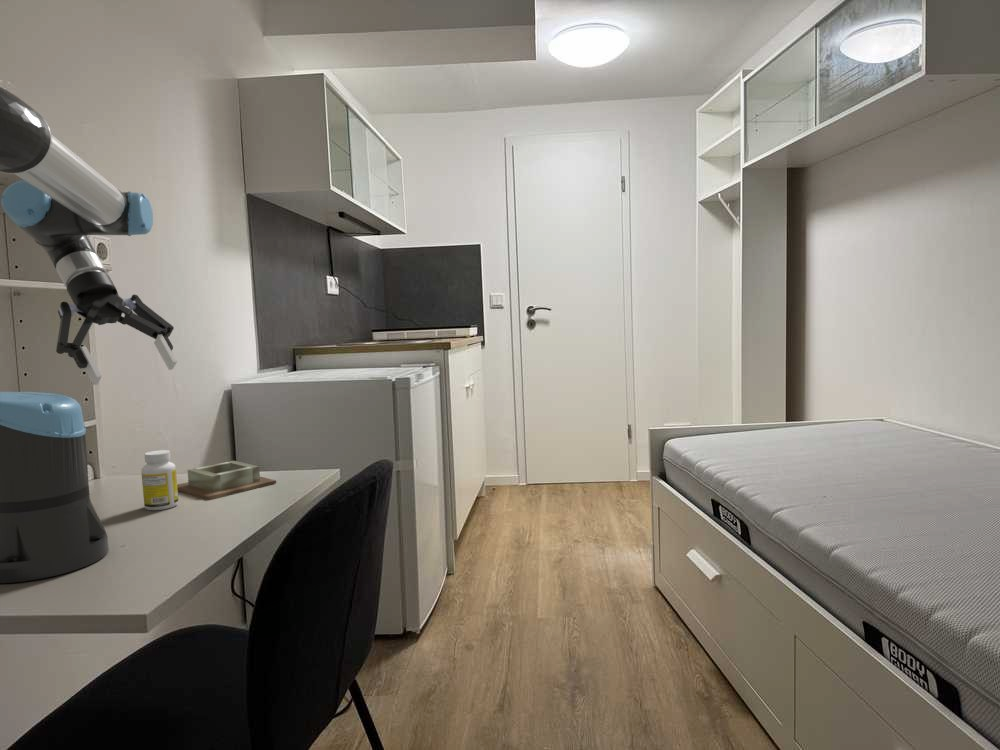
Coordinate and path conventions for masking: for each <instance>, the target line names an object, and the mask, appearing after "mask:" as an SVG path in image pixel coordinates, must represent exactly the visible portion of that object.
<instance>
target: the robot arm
mask: <svg viewBox="0 0 1000 750" xmlns="http://www.w3.org/2000/svg"><path fill="white" fill-rule="evenodd" d="M0 173H3V174H8V175H15V176H17V177H19V178H20V179H22V180H19V181H15V182H13V183H11V184H10V185H8V186H7V187H6V188H5V189H4V191H3V192H2V195H1V199H0V204H1V208H2V210H3V212H5V214H7V216H8V217H9V218H10V219H11V220H12V222H13V223H14V224H15V225H16V226H17V227H19V228H20V229H21V230H23V231H24V233H26V234H27V235H28V236H29V237H30V238H31V239H32V240H34V241H35V243H36V244H37V245H38V246H39V247H41V248H42V249H43V250H44V252H45V253H46V254H47V256H48V257H49V259H50V261H51V262H52V265H53V267H54V268H55V271H56V273H57V274H58V276H59V278H60V280H61V282H62V284H63V286H64V287H65V288H66V291H67V293H68V295H69V297H70V299H71V300H72V303H73V304H69V303H68V301H62V302H61V303H60V305H59V309H58V310H57V313H58V316H59V320H60V323H59V330H58V336H57V343H56V350H55V352H56V353H57V354H59V355H62V354H67V356H68V357H70V358H72V359H73V360H74V362H75V364H76V366H77V367H78V369H84V370H85V372H86V374H87V376H88V378H89V380H90V382H91V384H92V385H93V386H95V385H96V386H97V385H98V384H99V383H100V381H101V379H102V374H101V371H100V369H98V366H97V364H96V363H95V361H94V358H93V357H92V355H91V353H90V351H89V348H87V346H86V345H85V346H82V344H83V343H84V340H85V339H86V337H87V334H88V333H89V331H90V329H91V327H92V325H93V324H97V325H98V326H102V325H105V324H117V323H120V324H122V325H124V326H125V325H127V326H129V327H131V328H133V329H135V330H137V331H139V332H141V333H143V334H144V335H145V336H146V335H147V336H149V337H150V338H152V339H154V342H153V344H154V346H155V348H156V349H157V351H158V353H159V354H160V357H161V358H162V360H163V361H164V363H165V365H166V368H167V369H168V371H172V370H173V369H174V368H175V366H176V365H177V363H178V360H177V359H176V357H175V354H174V353H173V349H174V346H173V344H172V342H171V340H170V338H169V337H171V334H172V333H173V331H174V326H173V325H172V324H171V323H170V322H168V321H167V320H165V318H163V317H162V316H161V315H159V314H158V313H157V312H155V311H154V310H153V309H152V308H150V307H149V306H148V305H146V304H145V303H144V302H143V301H142V299H141V298H140V297H139V295H138V294H132V295H131V297H127V298H123V297H121V296H120V295H119V293H118V290H117V289H118V288H117V287H116V286H115V284H114V281H113V280H112V279H111V277H110V275H109V274H108V270H107V269H106V267H105V266H104V264H103V262H102V260H101V259H100V257H99V255H98V253H97V252H96V250H95V248H94V247H93V244H92V242H91V241H90V238H89V237H88V236H128V237H131V236H135V235H136V236H138V235H140V236H141V235H147V234H149V232H151V230H152V227H153V225H154V224H153V223H154V216H153V214H154V213H153V207H152V205H151V202H150V200H149V198H148V197H147V196H146V195H145V194H144V193H143V192H142V193H141V192H132V191H125V192H124V191H121V190H119V189H118V188H117V187H116V186H115V185H113V184H112V183H111V182H110V181H109V180H108V179H106V178H105V177H104V176H103V175H102V174H100V173H99V172H98V171H97V170H95V169H94V168H93V167H92V166H91V165H89V164H88V163H87V162H86V161H85V160H83V159H82V158H81V157H79V155H77V154H76V153H75V152H73V150H71V149H70V148H69V147H68V146H67V145H65V144H64V143H63V142H62V141H60V140H59V139H58V138H56V137H55V136H54V135H53V134H52V132H51V128H50V127H49V124H48V123H47V121H46V119H44V117H43V116H42V115H41V114H40V113H39V112H38V111H36V110H35V109H34V108H33V107H32V106H31V105H29V104H27V103H26V102H25V101H24V100H22V99H21V98H20V97H18V96H17V95H15V94H14V93H12V92H11V91H9V90H7V89H5V88H3V87H2V86H0ZM75 313H76V314H78V315H79V316H81V317H82V318H84V320H83V322H82V324H81V326H80V328H79V330H78V331H77V333H76V335H75V337H74V339H73V341H72V342H69V335H70V334H69V333H70V326H71V321H72V320H71V319H72V317H74V314H75ZM122 315H124V316H122ZM86 433H87V428H86V426H85V422H84V416H83V409H82V406H81V404H80V403H79V402H78V401H77V399H75V398H73V397H70V396H67V395H64V394H60V393H59V394H58V393H49V392H38V391H35V392H34V391H0V584H13V583H21V582H22V583H23V582H29V581H35V580H37V581H38V580H41V579H48V578H50V577H55V576H60V575H63V574H66V573H70V572H73V571H77V570H79V569H82V568H84V567H88V566H89V565H91V564H94V563H96V562H98V561H99V560H101V559H102V558H104V557H106V556H107V554H108V553H109V551H110V549H109V548H110V547H109V537H108V534H107V533H108V532H107V531H106V530H105V527H104V525H103V523H102V521H101V519H100V517H99V515H98V513H97V510H96V509H95V506H94V505H93V503H92V500H91V496H90V495H91V493H90V482H89V467H88V457H87V456H88V453H87V441H86Z"/></svg>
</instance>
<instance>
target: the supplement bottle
mask: <svg viewBox="0 0 1000 750" xmlns="http://www.w3.org/2000/svg"><path fill="white" fill-rule="evenodd" d="M170 460H171V451H170V450H168V449H167V450H166V449H160V450H152V451H147V452H145V453H144V462H145V463H146V464H145V465H144V466H143V467H142V468H141V471H140V472H141V482H142V496H143V504H144V505H143V506H144V508H145V510H147V511H163V510H167V509H171V508H174V507H176V506H178V504H179V491H178V490H177V484H178V482H177V481H178V480H177V469H176V464H175V463H174V462H172V461H170Z"/></svg>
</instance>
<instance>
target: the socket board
mask: <svg viewBox="0 0 1000 750" xmlns="http://www.w3.org/2000/svg"><path fill="white" fill-rule="evenodd" d="M260 472H261V471H260V466H259V465H254V464H250V463H246V462H242V461H237V460H230V461H226V462H220V463H214V464H210V465H205V466H200V467H194V468H190V469H187V481H186V482H182V483H177V490H178V492H182V493H185V494H189V495H191V496H195V497H198V498H202V499H205V500H208V501H209V500H214V499H218V498H222V497H226V496H231V495H234V493H235V494H238V493H243V492H246V491H251V490H254V489H258V488H262V487H267V486H271V485H270V484H272V485H275V484H274V483H276V484H277V480H275V479H272V478H269V477H263V476H261V475H260Z"/></svg>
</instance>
